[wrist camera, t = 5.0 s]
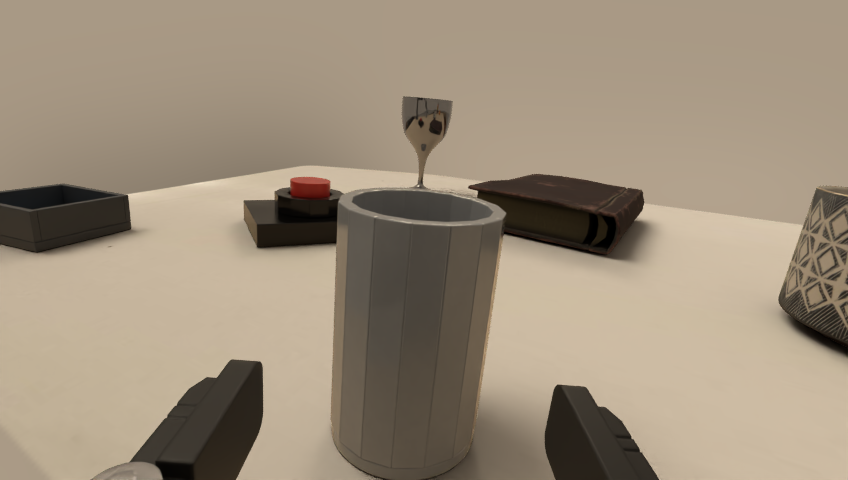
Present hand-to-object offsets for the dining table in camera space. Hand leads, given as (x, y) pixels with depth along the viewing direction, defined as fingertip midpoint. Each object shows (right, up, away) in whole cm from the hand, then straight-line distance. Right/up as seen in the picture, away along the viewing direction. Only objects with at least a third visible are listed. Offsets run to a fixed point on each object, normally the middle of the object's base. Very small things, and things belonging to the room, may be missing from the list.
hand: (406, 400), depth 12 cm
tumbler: (0, -4, +7) cm, 8 cm away
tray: (-33, +5, +27) cm, 43 cm away
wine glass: (0, +12, +62) cm, 63 cm away
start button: (-11, +9, +34) cm, 37 cm away
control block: (-12, +5, +35) cm, 37 cm away
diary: (+19, +7, +49) cm, 53 cm away
